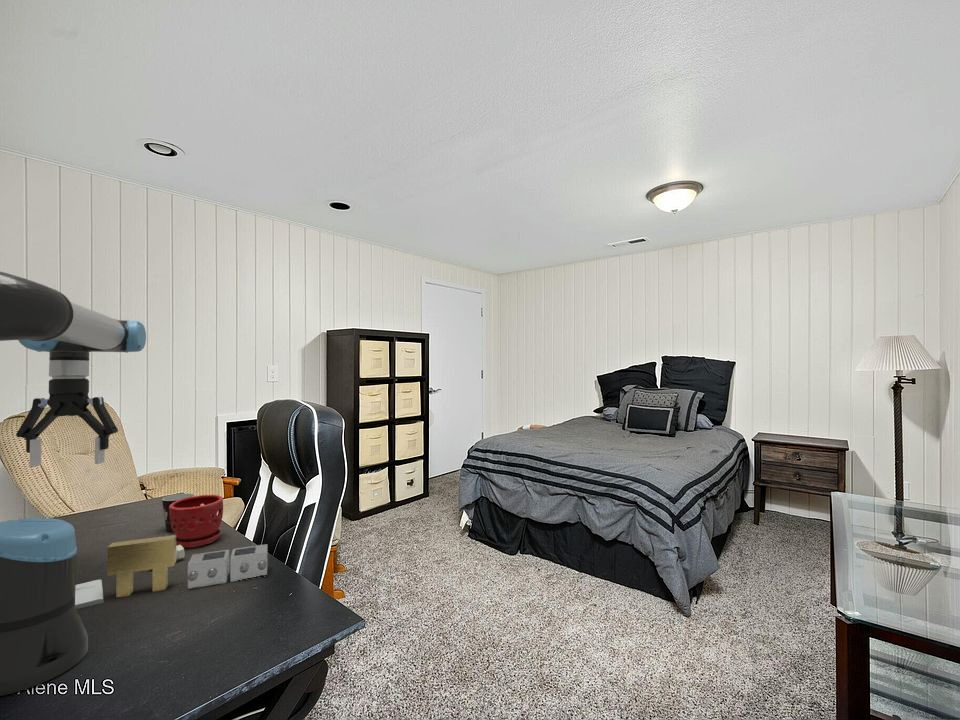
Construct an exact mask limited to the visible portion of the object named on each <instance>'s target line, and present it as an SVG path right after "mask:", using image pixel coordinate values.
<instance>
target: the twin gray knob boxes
mask: <svg viewBox="0 0 960 720" xmlns="http://www.w3.org/2000/svg"><path fill="white" fill-rule="evenodd" d="M229 575H230V583H233V582H238V580H240V581H243V580H242V579H246V580H248V579H247V578H252V577H256V576H260V575H267V576H268V544H267V543H266V544H257V545H252V546H245V547H238V548H232V551H231V554H230V549H223V550H215V551H209V552H208V551H207V552H202V553H193V554H192V555H191V557H190V559H189V561H188V563H187V589H188V590H190V589H196V588H197V589H198V588H202V587H209V586H215V585H220V584H227V583H228V578H229ZM252 579H253V578H252Z"/></svg>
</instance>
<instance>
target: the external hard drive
mask: <svg viewBox="0 0 960 720" xmlns="http://www.w3.org/2000/svg"><path fill="white" fill-rule="evenodd" d="M103 590H104V589H103V580H102V579H95V580H90V581H87V582H83V583H79V584H75V608H76V609H77V610H81V609H84V607H85V608H88V606H89V607H92V606H96V605H100V604H104V591H103ZM80 608H81V609H80Z"/></svg>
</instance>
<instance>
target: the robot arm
mask: <svg viewBox="0 0 960 720" xmlns="http://www.w3.org/2000/svg"><path fill="white" fill-rule="evenodd" d="M146 332H147V331H146V328H145V325H144V324H143V323H142V322H141V321H139V320H130V319H127V320H126V319H124V320H121V319H116V318H113V317H110V316H107V315H105V314H102V313H100V312H97V311H95V310H93V309H90V308H87V307H85V306H82V305H79V304H77V303H74V302H72V301H70V299H69V298H68V297H67V296H66V295H65V294H64V293H62V292H60V291H59V290H57V289H55V288H51V287H49V286H47V285H45V284H42V283H38V282H36V281H34V280H32V279H27V278H24V277H21V276H17V275H14V274H11V273H7V272H4V271H0V342H4V341H5V342H7V341H18V342H19V344H20V345H22V346H23V347H24V348H26V349H28V350H32V351H35V352H39V353H41V352H47V353H49V354H48V355H49V358H48V359H49V360H48V361H49V364H48V376H49V377H51V378H50V379H49V380H48V394H49V396H48V398H44V397H40V398H37V397H36V398H34V399H33V400H32V405H31V408H30V410H29V412H28V414H27V415H26V417H25V419H24V420H23V422H22V423H21V424H20V426H19V428H18V430H17V432H16V434H15V436H16V437H17V438H22V439H24V440H25V442H26V443H25V452H26V453H27V454H29V466H28V467H29V468H34V467H39V466H42V438H40V435H41V434H42V433H44V431H45V430H46V429H47V428H48V427H49V426H51V424H52V423H53V422H54V421H55V420H56V419H57V418H58V417H67V416H69V417H77V416H78V417H79V418H81V419H82V420H83V422H85V423H86V424H87V425H88V427H90V428H91V429H92V431H94V432H95V433H96V435H97V436H96V437H95V438H94V465H99V464H102V463H105V460H106V459H105V458H106V456H105V455H106V452H105V451H106V450H108V449H109V444H110V442H109V440H110V439H109V438H110V436H111V435H113V434H116V433H118V431H119V429H118V428H117V426H116V423H115V422H114V420H113V419H112V417H111V415H110V413H109V411H108V410H107V408H106V406H105V401H104V400H105V399H104V397H103V396H94V397H91V398H90V396H89V392H90V380H89V378H87V377H89V376H90V353H91V352H93V353H96V352H97V353H99V352H100V353H113V352H114V353H127V354H128V353H136V352H138V353H139V352H141V351H143V350H144V348H145V345H146V343H147V342H146V341H147V333H146ZM89 405H90V406H91V407H93V409H94V412H95V413H96V416H97V417H98V419H99V420H100V421H99V420H98V419H97V417H95V416H94V415H93V414H92V411H91V410H90V409H89V408H88V406H89ZM46 407H49V408H50V409H49V410H48V411H47V412H46V413H45V414H44V416H43V417H42V418H41V419H40V417H41V415H42V414H43V411H44V410H45V409H46ZM39 419H40V420H39ZM38 420H39V421H38ZM76 539H77V538H76V530H75V527H74V525H72V524H71V523H69V522H67V521H66V520H63V519H59V518H53V517H52V518H49V517H27V518H24V517H23V518H18V519H10V520H4V521H0V697H3V696H7V695H9V694H10V695H11V694H15V693H18V692H21V691H25V690H27V689H30V688H34V687H35V686H38V685H41V684H43V683H46V682H48V681H50V680H52V679H54V678H56V677H58V676H60V675H62V674H64V673H65V672H67V671H69V670H71V669H72V668H73V667H75V666H76V665H77V664H78V663H79V662H81V661H82V659H84V657H86V655H87V653H88V650H89V636H88V632H87V630H86V629H85V626H84V624H83V621H82V619H81V617H80V615H79V613H78V609H77V610H76V608H75V585H77V584H76V578H77V575H76V574H77V553H78V552H77V551H78V545H77V541H76Z"/></svg>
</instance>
